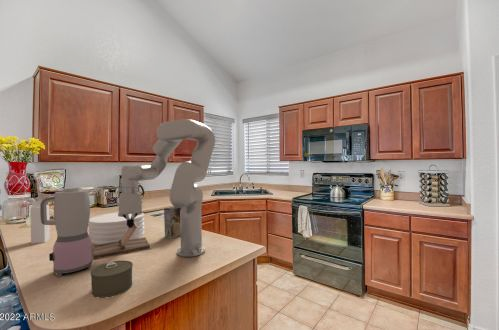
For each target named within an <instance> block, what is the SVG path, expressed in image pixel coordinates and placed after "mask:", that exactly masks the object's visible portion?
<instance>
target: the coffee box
mask: <svg viewBox="0 0 499 330" xmlns="http://www.w3.org/2000/svg"><path fill="white" fill-rule="evenodd" d="M180 212H181V208H177V207H175V206H171V207H166V208H165V207H164V208H163V213H164V214H163V221H164V237H165V238H169V239H173V238H177V237H179V236H180V237H181V233H180Z"/></svg>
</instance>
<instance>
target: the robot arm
mask: <svg viewBox="0 0 499 330" xmlns="http://www.w3.org/2000/svg"><path fill="white" fill-rule="evenodd" d="M156 136H157V139H158V140H156V142H155V143H154V144H153V145H152V151H153V153H154V154H155V155H156V156H155V158H154V160H153V161H151V163H150V164H140V165H139V164H138V165H123V166H122V167H121V171H120V173H121V187H120V188H117V190H118V192H121V193H120V194H119V198H118V209H117V210H118V212H117V213H118V216H119V217H124V218H125V219H127V226H128V227H129V228H130V227H131V228H132V225H134V218H135V217H136V216H137V215H140V214H142V213H143V210H142V209H143V208H142V207H143V206H142V205H143V203H142V202H143V201H142V196H141V195H142V194H141V192H139V182H143V181H144V182H145V181H152V180H155V179H157V178H158V177H159V176H160V175H161V174H162V172H163V171H164V170H165V168H166V167H167V163H168V159H169V157H170V155H171V154H172V153H173V152H174V151H175V150H176V148H177V147H179V145H181V142H182V141H183V140H190V141H196V142H197V143H196V145H195V147H194V148H193V151H192V154H191V158H190V160H187V161H184V162H181V163H180V164H179V165H178V167H177V168H176V170H175V172H174V177H173V178H172V179H173V180H172V184H171V187H170V191H169V201H170V203H171V205H172V207H177V208H181V212H180V233H181V235H180V248H179V249H177V251H176V253H177V255H178V256H180V257H183V258H192V257H198V256H201V255H203V254H204V253H206V247H205V246H204V245H203V239H202V236H203V235H202V234H203V233H202V228H203V227H202V206H203V198H204V192H203V189H202V187H200V185H198V184H196V183H199V182H202V181H204V180H205V178H206V176H207V173H208V170H209V165H210V163H211V158H212V154H213V152H214V149H215V145H216V136H215V134H214V132H213V130H212V129H211V128H210V127H209V126H207V124H204V123H202V122H199V121H197V120H194V119H189V118H188V119H187V118H185V119H177V120H171V121H170V120H169V121H164V122H162V123H160V124H159V125H158V126H157V128H156ZM129 214H132V216H131V219H130V218H129Z"/></svg>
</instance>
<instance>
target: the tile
mask: <svg viewBox="0 0 499 330" xmlns="http://www.w3.org/2000/svg"><path fill="white" fill-rule="evenodd" d="M136 229H137V225H136V223H134V225H132V228H131V227H130V228H129V229H128V231H127V232H126V234H125V235H124V236H123V238H122V239H121V241H120V243H121V246H125V245H126V243H127V242H128V240H129V239H130V237H131V236H132V234H133V233H134V231H135V230H136Z"/></svg>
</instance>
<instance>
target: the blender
mask: <svg viewBox="0 0 499 330" xmlns="http://www.w3.org/2000/svg"><path fill="white" fill-rule="evenodd" d="M91 192H92V190H87V189H81V187H79V186H77V187H65V188H63V191H56V192H54V193H53V194H54V195H53V196H49V197H46V198H44V199H42V200H41V201H42V202H41V205H40V215H41V223H42V224H44V225H49V226H53V225H54V226H55V230H56V235H57V238H56V240H55V242H54V245H53V246H52V252H51V253H49V254H48V257H49V258H48V259H49V261H50V262H51V261H52V262H53V263H52V264H53V273H55V275H56V277H62V276H64V275H63V274H69V273H73V272H77V271H81V270H83V269H87V270H90V269H91V268H92V265H93V255H92V253H93V249H92V245H93V244H92V242H91V239H90V237H89V227H88V225H89V219H90V218H91V203H90V202H91V201H90V194H91ZM52 202H53V219H51V220H50V219H49V220H47V210H46V205H47V204H48V203H52Z"/></svg>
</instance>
